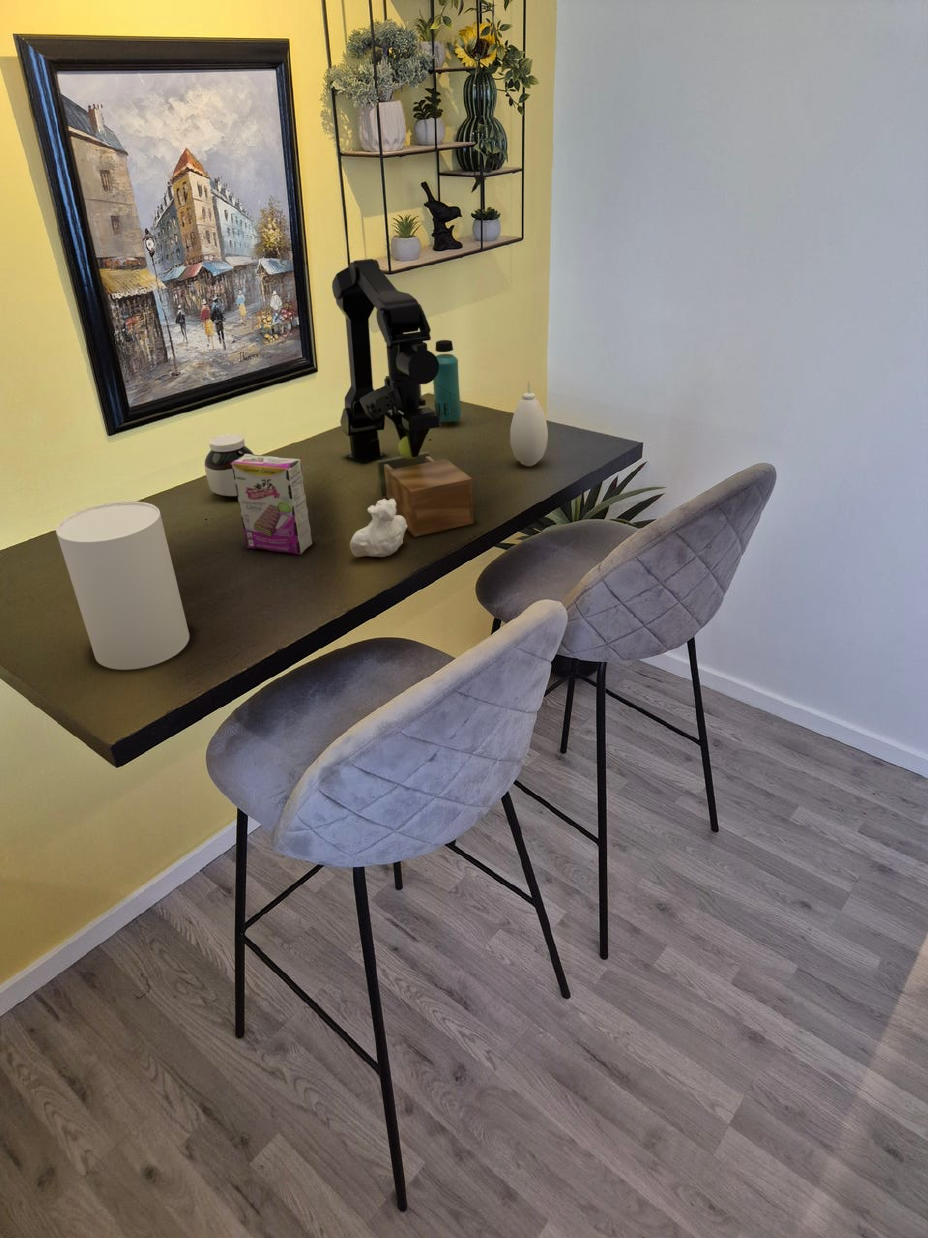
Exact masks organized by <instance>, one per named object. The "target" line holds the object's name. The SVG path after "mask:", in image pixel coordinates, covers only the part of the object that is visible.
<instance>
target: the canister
mask: <svg viewBox="0 0 928 1238" xmlns="http://www.w3.org/2000/svg"><path fill="white" fill-rule="evenodd" d="M55 533H56V537H57V540H58V543H59V545H60V549H61V552H62V555H63V559H64V562H65V566H66V569H67V572H68V575H69V579H70V582H71V584H72V585H71V586H72V588H73V591H74V594H75V597H76V601H77V604H78V608H79V610H80V614H81V617H82V620H83V624H84V627H85V630H86V634H87V636H88V640H89V643H90V646H91V649H92V652H93V655H94V658H95V661H96V662H97V663H98V664H99V665H101V666H103V667H105V668H107V669H112V670H120V671H121V670H122V671H126V670H130V671H131V670H137V669H144V668H148V667H152V666H156V665H157V664H158V665H159V664H161V663H163V662H165V661H167V660H170V659H171V658H173V657H174V656H176V655H178V654H179V653H180V652H181V651H183V649H185V647H186V646H187V645H188V643H189V640H190V632H189V628H188V624H187V619H186V615H185V611H184V607H183V602H182V599H181V594H180V591H179V587H178V582H177V577H176V573H175V570H174V565H173V561H172V557H171V553H170V549H169V545H168V540H167V536H166V531H165V527H164V524H163V520H162V516H161V510H160V509H159V508H158V507H157V506H155V505H154V504H152V503H150V502H149V503H148V502H145V501H144V502H143V501H134V500H133V501H132V500H129V501H127V500H125V501H114V502H113V501H112V502H107V503H106V502H105V503H102V504H97V505H93V506H89V507H87V508H84V509H81V510H78V511H76V512H73V513H71V514H70V515H68V516H66V517H65V518H63V519H62V520H61V521H60V522H59V523H58V525H57V526H56V528H55Z"/></svg>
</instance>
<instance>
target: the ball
mask: <svg viewBox="0 0 928 1238" xmlns="http://www.w3.org/2000/svg"><path fill="white" fill-rule="evenodd" d="M397 450H398V453H399V454H400V456H403V457H404V458H406V459H414V458H416V457H412V455H411V451H410V447H409V443H408V438H407V436H406V437H404V438H402V439H401V440H400V439H399V442H398V445H397ZM421 452H422V449H421V450H420V452H419V454H420V453H421Z"/></svg>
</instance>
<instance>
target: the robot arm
mask: <svg viewBox="0 0 928 1238" xmlns="http://www.w3.org/2000/svg"><path fill="white" fill-rule="evenodd" d="M331 288H332V294H333V298H334V299H335V302H336V305H337V307H338V308H339V310H340V312H342V314H343V316H344V318H345V327H346V339H347V341H346V342H347V350H348V352H347V353H348V364H349V365H348V367H349V377H350V378H349V379H350V387H349V389H348V391H347V392H346V394H345V396H344V408H343V409H342V413H341V417H340V421H339V422H340V426H341V431H342V432H343V433H344V434H345V435H346V436H347V437H349V443H350V452H351V453H348V454H346V455H345V458H346V459H349V460H352V461H355V462H358V463H361V464H366V463H370V462H372V461H375V460H378V459H381V458H384V457H386V453H385V452H381V447H380V445H381V444H380V438H379V432H378V431H384V430H385V424H386V418H387V419H389V420H390V421H391V422H392V423H393V425H394V427H395V431H396V433H397V436H398V439H399V441H400V440H401V439H402V438H404V437H406V436H407V438H408V443H409V447H410V451H411V455H412V457H417V456H418V455H419V452H420V450H421V451H422V447H423V445H424V442H425V440H426V438H427V435H428V433H429V432H430V430H431V429H436V428H440V427H442V422H441V417H440V415H439V414H438V413H436V412H435V409H432V408H431V407H429V406H426V404H427V403H426V399H425V398H423V397H422V385H428V384H430V383H432V382H433V380H434V379H435V378H436V376H437V374H438V371H439V362H438V360H437V357H436V356H437V355H435V354H434V353H433V352H432V351H430V350H428V343H427V342H428V341H431V340H432V337H431V334H430V333H431V330H432V329H431V327H430V324H429V322H428V319H427V317H426V316H427V315H426V314H425V311H424V310H423V306H422V305H421V304H420V303H419V301H418V300H417V299H416V298H415V297H414V296H413V295H411V294H410V293H407V292H403V291H400V290H398V288H396V287H395V285H394V284H393V283H392V282H391V281H390V279H389V278H388V276H386V274H385V273H384V272H383V271H382V269H381V268H380V263H379V262H378V260H377V259H374V258H366V259H357V260H353V261H352V262H350V263H349V265H348V266H347V267H345V268H344V269H342V270H340V271H338V272H337V273H336V274H335V276H334V278H333V280H332V282H331ZM374 309H376V313H375V314H376V315H375V316H376V322H377V323H376V324H377V326H378V329H379V330H380V333H381V335H382V338H383V340H384V342H385V344H386V348H385V349H386V356H387V358H386V359H387V370H388V371H387V372H388V375H386V376H385V378H384V379H383V381H384V385H383V386H381V387H379V388H376V389H375V388H374V385H373V384H374V381H373V380H374V379H373V368H372V367H373V366H372V365H373V364H372V350H371V335H370V318H371V315H372V314H373V311H374ZM423 406H425V407H423ZM420 453H421V452H420Z"/></svg>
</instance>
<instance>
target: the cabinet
mask: <svg viewBox="0 0 928 1238" xmlns="http://www.w3.org/2000/svg"><path fill="white" fill-rule="evenodd" d="M388 478H389V489H390V499H394V500H395V502H396V510H397V512H396V515H400V516H403V517H404V518H405V520H406V524H407V528H406V531H408V533H410V534H411V535H412V536H413V537H414V538H416V537H417V538H418V537H422V536H426V535H429V534H434V533H439V532H443V531H448V530H452V529H456V528H461V527H464V526H469V525H474V523H475V522H474V499H473V478H472V477H470V476H469V474H466V473H465V472H464V471H462V470H461V469H460V468H459V467H457V465H455V464H453V463H452V462H451V461H449V460H448V459H447V458H444V459H439V460H435V461H433V462H428V463H423V464H418V465H413V466H408V467H403V468H398V469H393V470H388Z"/></svg>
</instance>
